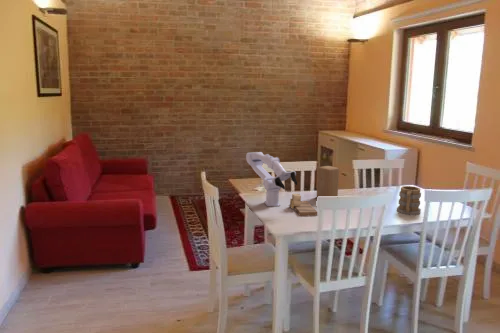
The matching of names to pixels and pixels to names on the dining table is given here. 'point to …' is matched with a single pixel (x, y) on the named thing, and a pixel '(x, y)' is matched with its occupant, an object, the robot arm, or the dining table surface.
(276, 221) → the dining table surface
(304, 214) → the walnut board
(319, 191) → the wooden block
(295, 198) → the tan wood block
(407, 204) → the tankard
